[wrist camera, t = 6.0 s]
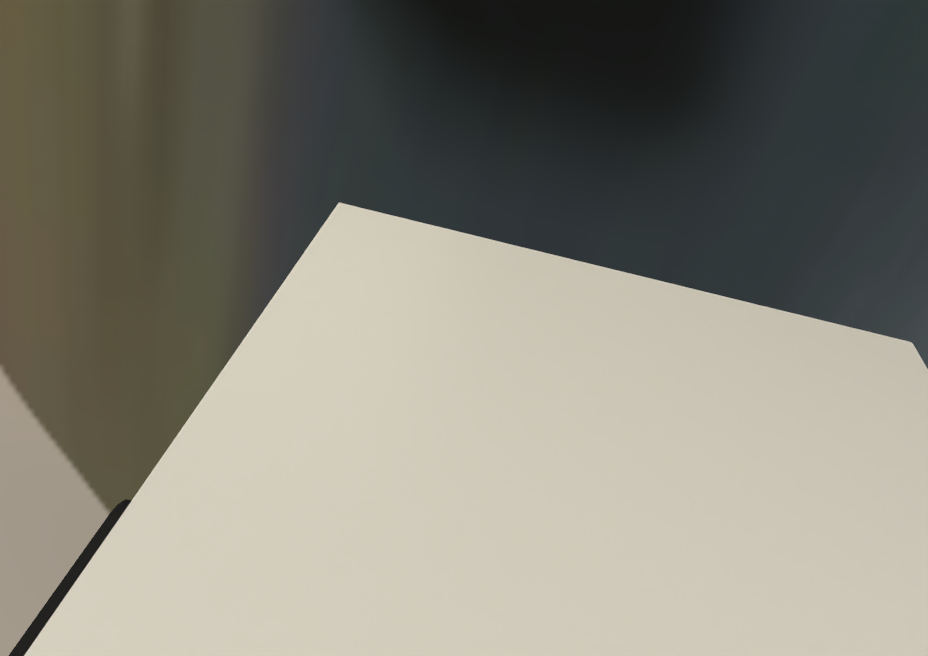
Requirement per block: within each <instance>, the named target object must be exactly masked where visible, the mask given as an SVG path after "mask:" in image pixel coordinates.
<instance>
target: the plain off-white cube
mask: <svg viewBox="0 0 928 656" xmlns="http://www.w3.org/2000/svg"><path fill="white" fill-rule="evenodd" d="M24 656H928V369H927V368H926V366H925V364H924V362H923V361H922V359H921V357H920V355H919V354H918V352H917V350H916V349H915V347H914V345H913V343H912V342H908V341H904V340H900V339H896V338H892V337H888V336H883V335H879V334H875V333H871V332H867V331H863V330H859V329H855V328H851V327H847V326H842V325H838V324H834V323H830V322H826V321H822V320H818V319H814V318H810V317H806V316H802V315H797V314H793V313H789V312H785V311H781V310H777V309H773V308H769V307H765V306H761V305H756V304H752V303H748V302H744V301H740V300H736V299H732V298H728V297H724V296H720V295H715V294H711V293H707V292H703V291H699V290H695V289H691V288H687V287H683V286H679V285H675V284H670V283H666V282H662V281H658V280H654V279H650V278H646V277H642V276H638V275H634V274H629V273H625V272H621V271H617V270H613V269H609V268H605V267H601V266H597V265H593V264H588V263H584V262H580V261H576V260H572V259H568V258H564V257H560V256H556V255H552V254H548V253H543V252H539V251H535V250H531V249H527V248H523V247H519V246H515V245H511V244H507V243H502V242H498V241H494V240H490V239H486V238H482V237H478V236H474V235H470V234H466V233H461V232H457V231H453V230H449V229H445V228H441V227H437V226H433V225H429V224H425V223H421V222H416V221H412V220H408V219H404V218H400V217H396V216H392V215H388V214H384V213H380V212H375V211H371V210H367V209H363V208H359V207H355V206H351V205H347V204H343V203H338V205H337V206H336V207H335V209H334V210H333V212H332V213H331V215H330V216H329V218H328V219H327V220H326V222H325V223H324V225H323V226H322V228H321V229H320V230H319V232H318V233H317V235H316V236H315V238H314V239H313V241H312V242H311V243H310V245H309V246H308V248H307V249H306V251H305V252H304V254H303V255H302V256H301V258H300V259H299V261H298V262H297V264H296V265H295V266H294V268H293V269H292V271H291V272H290V274H289V275H288V277H287V278H286V279H285V281H284V282H283V284H282V285H281V287H280V288H279V290H278V291H277V292H276V294H275V295H274V297H273V298H272V300H271V301H270V302H269V304H268V305H267V307H266V308H265V310H264V311H263V313H262V314H261V315H260V317H259V318H258V320H257V321H256V323H255V324H254V325H253V327H252V328H251V330H250V331H249V333H248V334H247V336H246V337H245V338H244V340H243V341H242V343H241V344H240V346H239V347H238V349H237V350H236V351H235V353H234V354H233V356H232V357H231V359H230V360H229V361H228V363H227V364H226V366H225V367H224V369H223V370H222V372H221V373H220V374H219V376H218V377H217V379H216V380H215V382H214V383H213V385H212V386H211V387H210V389H209V390H208V392H207V393H206V395H205V396H204V397H203V399H202V400H201V402H200V403H199V405H198V406H197V408H196V409H195V410H194V412H193V413H192V415H191V416H190V418H189V419H188V420H187V422H186V423H185V425H184V426H183V428H182V429H181V431H180V432H179V433H178V435H177V436H176V438H175V439H174V441H173V442H172V444H171V445H170V446H169V448H168V449H167V451H166V452H165V454H164V455H163V456H162V458H161V459H160V461H159V462H158V464H157V465H156V467H155V468H154V469H153V471H152V472H151V474H150V475H149V477H148V478H147V480H146V481H145V482H144V484H143V485H142V487H141V488H140V490H139V491H138V492H137V494H136V495H135V497H134V498H133V500H132V501H131V503H130V504H129V505H128V507H127V508H126V510H125V511H124V513H123V514H122V515H121V517H120V518H119V520H118V521H117V523H116V524H115V526H114V527H113V528H112V530H111V531H110V533H109V534H108V536H107V537H106V539H105V540H104V541H103V543H102V544H101V546H100V547H99V549H98V550H97V551H96V553H95V554H94V556H93V557H92V559H91V560H90V562H89V563H88V564H87V566H86V567H85V569H84V570H83V572H82V573H81V575H80V576H79V577H78V579H77V580H76V582H75V583H74V585H73V586H72V587H71V589H70V590H69V592H68V593H67V595H66V596H65V598H64V599H63V600H62V602H61V603H60V605H59V606H58V608H57V609H56V610H55V612H54V613H53V615H52V616H51V618H50V619H49V621H48V622H47V623H46V625H45V626H44V628H43V629H42V631H41V632H40V634H39V635H38V636H37V638H36V639H35V641H34V642H33V644H32V645H31V646H30V648H29V649H28V651H27V652H26V654H25V655H24Z"/></svg>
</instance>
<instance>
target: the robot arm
mask: <svg viewBox="0 0 928 656" xmlns="http://www.w3.org/2000/svg"><path fill="white" fill-rule="evenodd" d="M131 501H132V500H126V499H125V500H124V501H122V502H121V503H119V504H118V505H117V506H116V507H115V508H114V509H113V511H112V512H111V513H110V514H109V516H108V517H107V518H106V520H105V521H104V523H103V524H102V525H101V527H100V528H99V530H98V531H97V532H96V534H95V535H94V537H93V538H92V539H91V541H90V542H89V544H88V545H87V547H86V548H85V549H84V551H83V552H82V554H81V555H80V556H79V558H78V559H77V561H76V562H75V563H74V565H73V566H72V568H71V569H70V570H69V572H68V573H67V575H66V576H65V577H64V579H63V580H62V582H61V583H60V585H59V586H58V587H57V589H56V590H55V591H54V593H53V594H52V596H51V597H50V598H49V600H48V601H47V603H46V604H45V605H44V607H43V608H42V610H41V611H40V612H39V614H38V616H37V617H36V618H35V620H34V621H33V622H32V624H31V625H30V627H29V628H28V629H27V631H26V632H25V634H24V635H23V636H22V638H21V639H20V641H19V642H18V643H17V645H16V646H15V648H14V649H13V650H12V652H11V653H10V655H9V656H24V655H25V654H26V652H27V651H28V649H29V648H30V646H31V645H32V644H33V642H34V641H35V639H36V638H37V636H38V635H39V634H40V632H41V631H42V629H43V628H44V626H45V625H46V623H47V622H48V621H49V619H50V618H51V616H52V615H53V613H54V612H55V610H56V609H57V608H58V606H59V605H60V603H61V602H62V600H63V599H64V598H65V596H66V595H67V593H68V592H69V590H70V589H71V587H72V586H73V585H74V583H75V582H76V580H77V579H78V577H79V576H80V575H81V573H82V572H83V570H84V569H85V567H86V566H87V564H88V563H89V562H90V560H91V559H92V557H93V556H94V554H95V553H96V551H97V550H98V549H99V547H100V546H101V544H102V543H103V541H104V540H105V539H106V537H107V536H108V534H109V533H110V531H111V530H112V528H113V527H114V526H115V524H116V523H117V521H118V520H119V518H120V517H121V515H122V514H123V513H124V511H125V510H126V508H127V507H128V505H129V504H130V503H131Z"/></svg>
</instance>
